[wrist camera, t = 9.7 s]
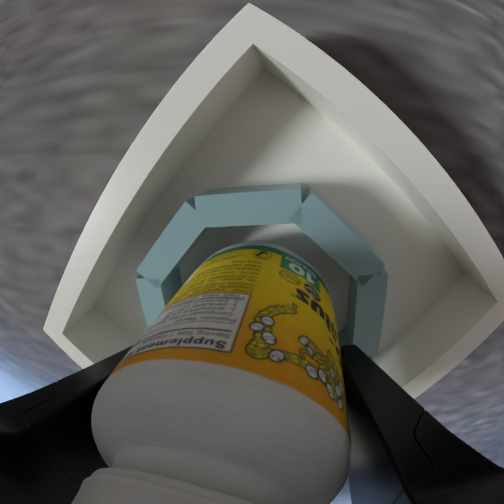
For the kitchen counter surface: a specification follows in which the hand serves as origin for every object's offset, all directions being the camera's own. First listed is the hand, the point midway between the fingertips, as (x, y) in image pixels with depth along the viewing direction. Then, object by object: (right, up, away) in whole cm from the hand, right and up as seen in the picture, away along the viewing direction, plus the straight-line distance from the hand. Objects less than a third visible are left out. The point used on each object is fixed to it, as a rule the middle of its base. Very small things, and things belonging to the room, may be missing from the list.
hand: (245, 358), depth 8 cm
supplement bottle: (0, +1, +3) cm, 3 cm away
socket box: (+1, +1, +4) cm, 5 cm away
